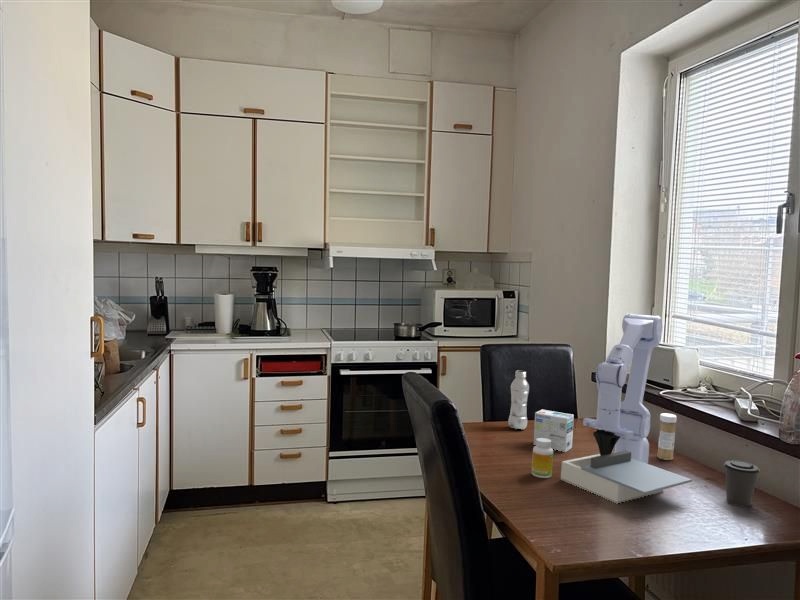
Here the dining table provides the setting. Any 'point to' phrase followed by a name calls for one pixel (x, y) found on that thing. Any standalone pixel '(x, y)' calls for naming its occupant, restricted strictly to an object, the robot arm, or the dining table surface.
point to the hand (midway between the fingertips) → (605, 459)
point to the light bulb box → (554, 429)
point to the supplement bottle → (542, 458)
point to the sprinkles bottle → (666, 436)
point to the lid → (633, 473)
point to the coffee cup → (740, 481)
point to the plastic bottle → (519, 401)
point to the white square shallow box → (596, 481)
